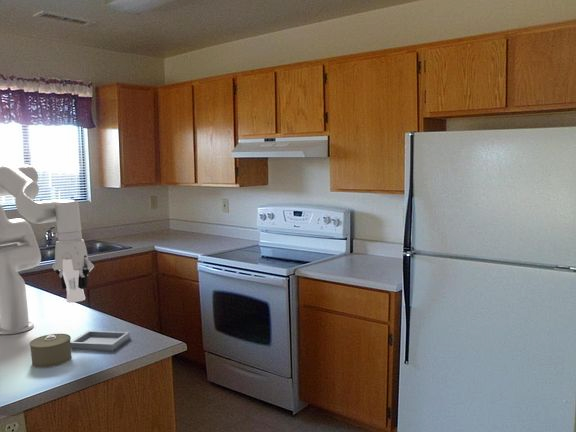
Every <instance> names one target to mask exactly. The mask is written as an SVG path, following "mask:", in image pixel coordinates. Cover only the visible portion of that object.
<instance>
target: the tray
mask: <svg viewBox="0 0 576 432" xmlns="http://www.w3.org/2000/svg"><path fill="white" fill-rule="evenodd" d="M130 339H131V332H130V331H111V330H110V331H108V330H107V331H106V330H87V331H85V332H84V333H83V334H80V336H78V337H76V338H74V339H72V340H70V343H71V351H74V350H75V351H91V352H95V351H97V352H114V351H116V350H118V348H119V347H121V346H122V345H124V344H125V343H127V342H129V340H130Z"/></svg>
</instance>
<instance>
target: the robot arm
mask: <svg viewBox="0 0 576 432" xmlns="http://www.w3.org/2000/svg"><path fill="white" fill-rule="evenodd" d="M38 180H39V174H38V172H37V170H36V169H35V168H34V167H33V166H31V165H29V164H11V165H10V164H9V165H8V164H6V165H2V166H1V167H0V197H3V196H4V197H6V196H12V197H13V198H15V200H14V202H15V203H14V204H15V207H16V210H17V212H18V213H19V214H20V216H21V217H23V218H12V219H9V218H8V217H7V215H6V212H5V208H4V207H3V206H2V205H1V204H0V247H3V246H8V247H4V248H0V335H15V334H20V333H24V332H27V331H29V330H31V329H33V328H34V322H33V321H30V320H29V311H28V300H27V299H28V298H27V289H26V282H25V280H24V279H23V277H22V276H21V275H20V273H19V272H22V271H24V270H25V271H26V270H29V269H33V268H36V267H38V266H39V265H40V264H41V262H42V254H41V253H42V252H41V250H40V247H39V244H38V241H37V238H36V236H35V233H34V230H33V228H32V225H31V224H30V223H32V224H35V225H36V224H37V225H39V224H45V223H46V224H47V223H56V230H57V233H55V234H54V236H55V238H57V240H58V241H55V250H54V263H53V264H52V265H51V269H53V271H55V273H56V275H58V277H59V278H60V281H61V287H62V290H67V289H66V285H65V282H64V279H63V274H62V264H63V262H62V259H71V261H72V265H73V270H79V274H80V276H81V277H80V278H79V280H80V289H83V290H84V289H86V288H88V277H89V274H90V273H91V272H92V270H93V269H94V268H95V265H94V264H93V263H92V262H91V261H90V260H89V257H88V256H89V255H88V250H87V246H86V243H85V240H84V239H83V234H82V223H81V213H80V203H79V202H78V201H77V200H74V199H68V200H66V199H65V200H64V199H52V200H51V199H48V200H39V201H35V200H34V199H36V197H37V196H38V195H39V191H40V190H39V189H40V187H39V185H38ZM29 222H30V223H29ZM13 244H17V245H16V246H11V247H9V245H13ZM82 270H83V271H84V272H83V271H82Z"/></svg>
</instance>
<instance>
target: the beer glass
mask: <svg viewBox="0 0 576 432" xmlns="http://www.w3.org/2000/svg"><path fill="white" fill-rule="evenodd" d="M62 262H63V264H62V274H63V279H64V282H65V285H66V289H65V290H66V299H65V301H66V303H79V302H83V301H85V300H86V296H85V292H84V289H80V280H79V278H80V277H81V276H80V274H79V270H73V265H72V261H71V259H62ZM82 271H83V270H82ZM83 272H84V271H83Z"/></svg>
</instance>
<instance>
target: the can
mask: <svg viewBox="0 0 576 432" xmlns="http://www.w3.org/2000/svg"><path fill="white" fill-rule="evenodd" d="M71 339H72V338H71V335H70V334H67V333H51V334H45V335H41V336H40V337H36V338H34V339H32V340H31V341H29V348H30V356H31V362H32V363H31V365H32V366H33V367H34V368H39V369H45V368H53V366H54V367H58V366H61V365H64V364H66V363H68V362H69V361H70V360H72V350H71V343H70V342H71ZM67 361H68V362H67ZM65 362H66V363H65ZM63 363H64V364H63ZM57 365H58V366H57Z"/></svg>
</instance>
